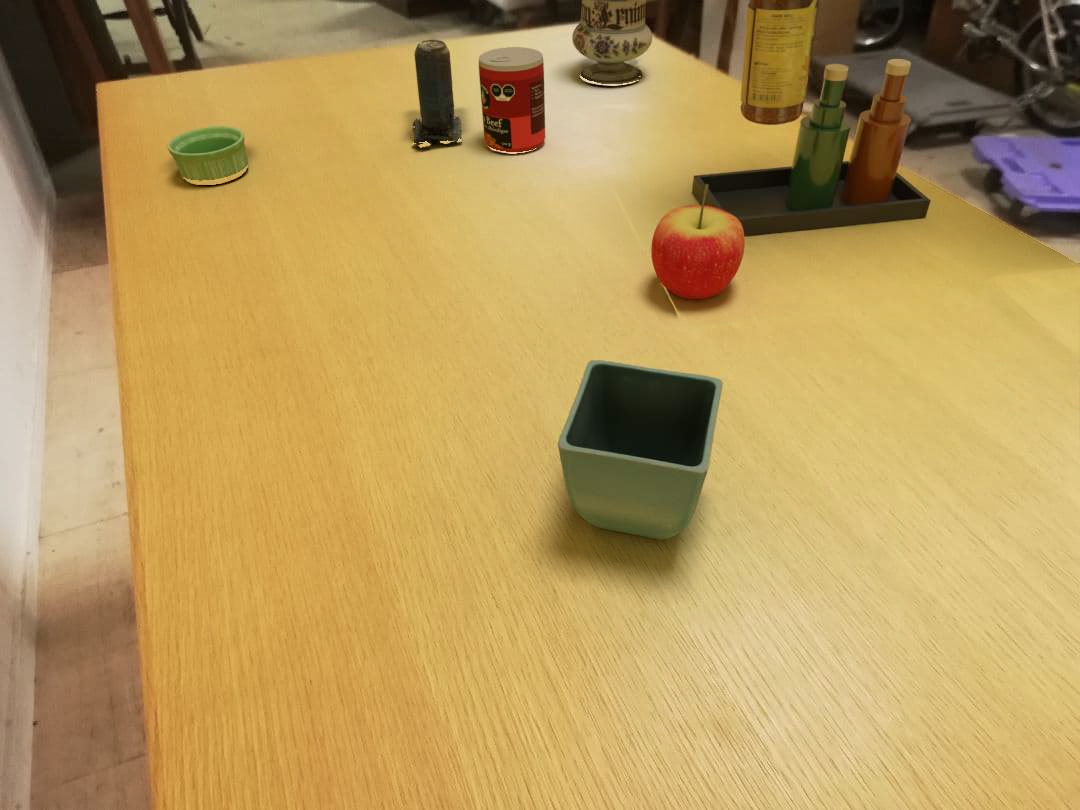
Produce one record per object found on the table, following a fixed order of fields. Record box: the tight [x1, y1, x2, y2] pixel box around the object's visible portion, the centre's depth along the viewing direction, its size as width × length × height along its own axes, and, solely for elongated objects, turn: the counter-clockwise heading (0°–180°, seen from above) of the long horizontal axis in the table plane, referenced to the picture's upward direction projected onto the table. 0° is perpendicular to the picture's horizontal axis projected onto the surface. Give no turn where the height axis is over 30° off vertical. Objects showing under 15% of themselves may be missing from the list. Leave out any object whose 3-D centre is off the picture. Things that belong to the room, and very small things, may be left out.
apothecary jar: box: [571, 0, 653, 84], centre depth 116 cm, size 12×12×18 cm
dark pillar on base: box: [412, 39, 462, 147], centre depth 102 cm, size 9×8×12 cm
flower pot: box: [557, 359, 723, 541], centre depth 51 cm, size 9×9×9 cm
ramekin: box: [166, 125, 249, 181], centre depth 97 cm, size 9×9×4 cm
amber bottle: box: [841, 58, 912, 206], centre depth 82 cm, size 5×5×14 cm
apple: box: [650, 184, 746, 300], centre depth 71 cm, size 8×8×10 cm
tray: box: [691, 160, 932, 238], centre depth 86 cm, size 22×11×2 cm, turn 99°
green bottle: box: [785, 63, 852, 211], centre depth 82 cm, size 5×5×14 cm
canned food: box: [478, 46, 546, 152], centre depth 99 cm, size 8×8×11 cm
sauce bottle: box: [740, 0, 819, 126], centre depth 73 cm, size 7×6×20 cm
